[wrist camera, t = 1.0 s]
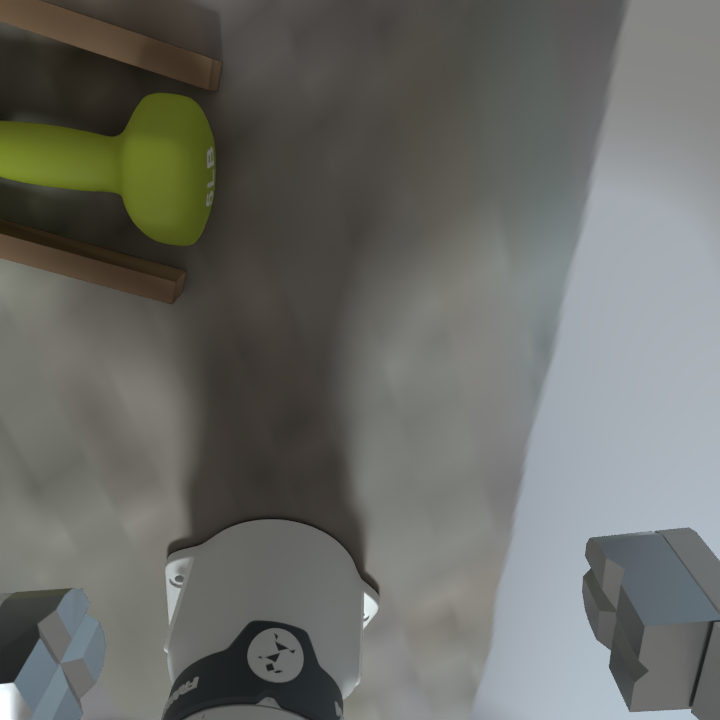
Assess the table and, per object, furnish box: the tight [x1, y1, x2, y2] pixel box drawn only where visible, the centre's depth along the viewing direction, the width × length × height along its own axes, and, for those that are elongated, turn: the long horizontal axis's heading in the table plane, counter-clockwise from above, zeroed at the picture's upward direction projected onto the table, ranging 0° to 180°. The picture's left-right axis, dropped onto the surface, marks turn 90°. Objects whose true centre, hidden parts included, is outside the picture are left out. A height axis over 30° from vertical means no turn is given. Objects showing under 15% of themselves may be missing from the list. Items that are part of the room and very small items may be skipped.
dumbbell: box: [0, 93, 216, 246], centre depth 29 cm, size 16×8×7 cm, turn 81°
